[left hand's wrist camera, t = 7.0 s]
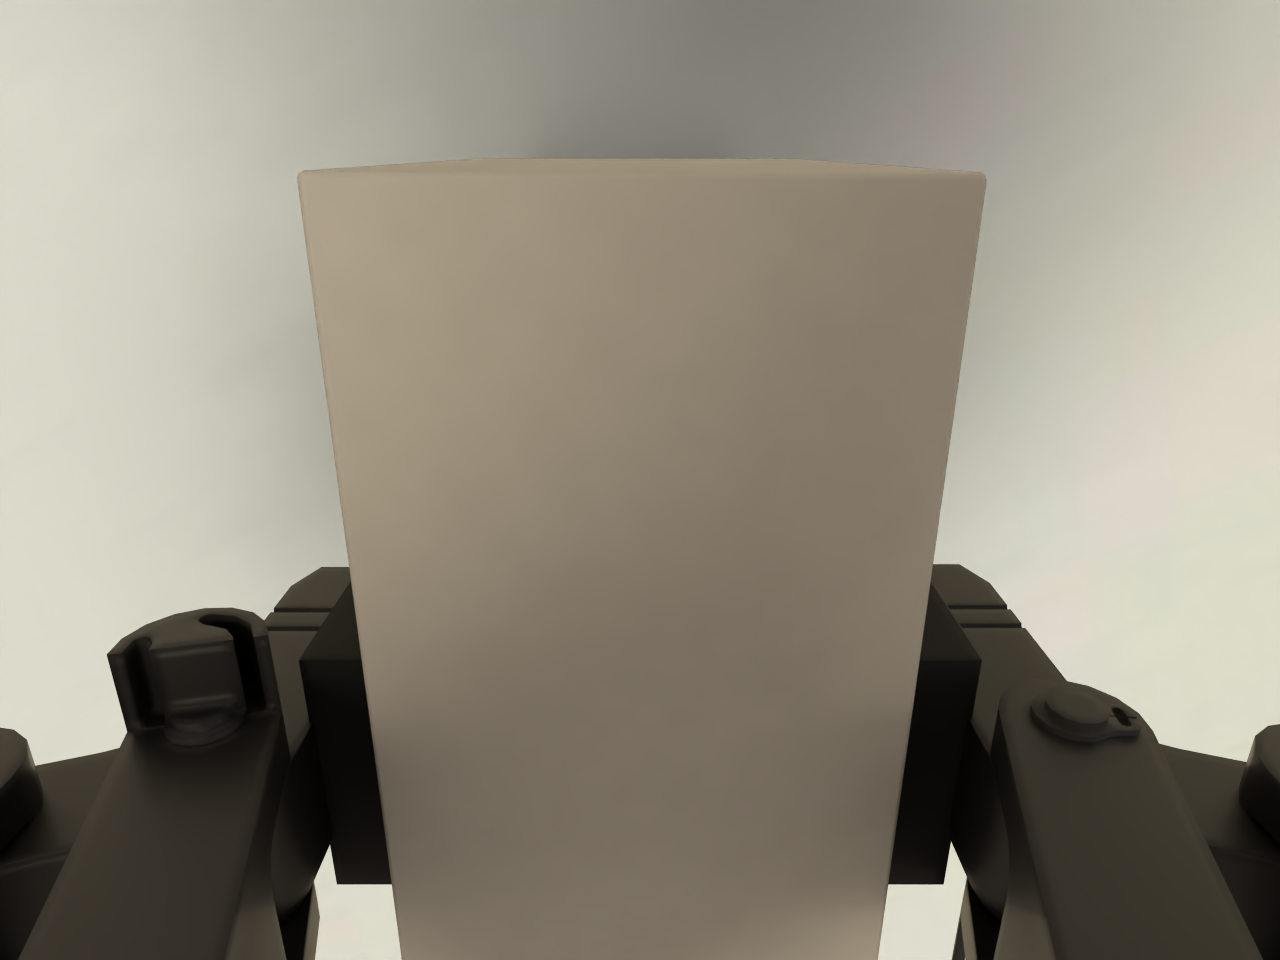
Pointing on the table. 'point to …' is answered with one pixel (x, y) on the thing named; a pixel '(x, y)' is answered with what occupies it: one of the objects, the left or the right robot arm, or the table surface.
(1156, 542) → the table surface
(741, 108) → the table surface
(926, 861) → the left robot arm
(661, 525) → the beam
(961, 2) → the table surface
